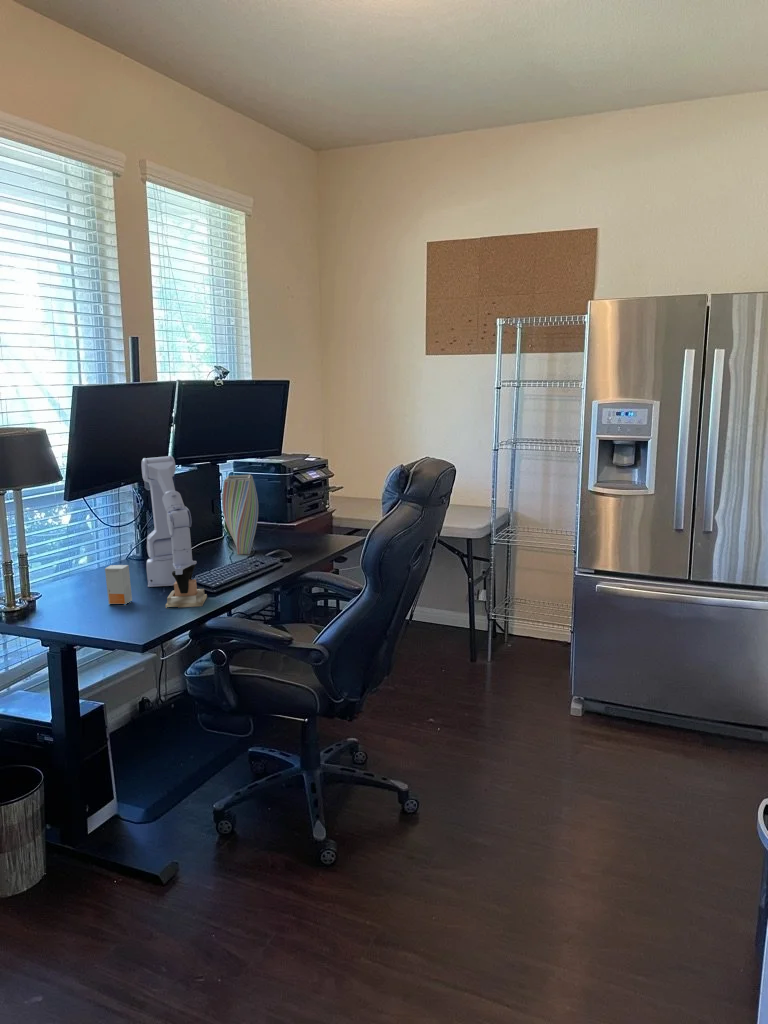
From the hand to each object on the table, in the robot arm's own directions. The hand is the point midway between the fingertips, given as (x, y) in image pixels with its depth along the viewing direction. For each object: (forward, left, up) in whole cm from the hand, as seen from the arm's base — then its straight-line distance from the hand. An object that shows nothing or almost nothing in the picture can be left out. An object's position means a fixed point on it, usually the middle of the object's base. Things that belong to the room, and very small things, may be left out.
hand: (185, 590), depth 232 cm
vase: (+11, +60, -4) cm, 61 cm away
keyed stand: (0, 0, -4) cm, 4 cm away
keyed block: (0, 0, -2) cm, 2 cm away
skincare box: (-21, +3, -4) cm, 22 cm away
